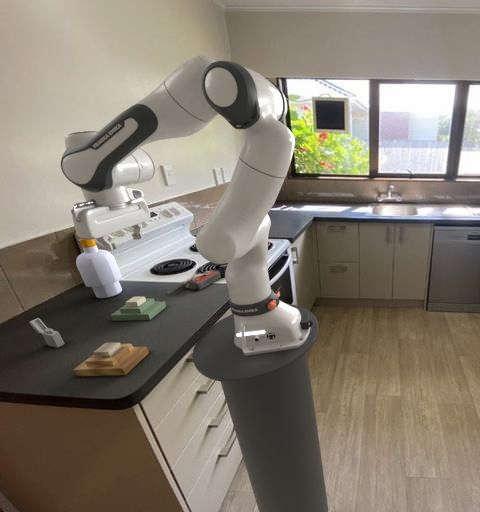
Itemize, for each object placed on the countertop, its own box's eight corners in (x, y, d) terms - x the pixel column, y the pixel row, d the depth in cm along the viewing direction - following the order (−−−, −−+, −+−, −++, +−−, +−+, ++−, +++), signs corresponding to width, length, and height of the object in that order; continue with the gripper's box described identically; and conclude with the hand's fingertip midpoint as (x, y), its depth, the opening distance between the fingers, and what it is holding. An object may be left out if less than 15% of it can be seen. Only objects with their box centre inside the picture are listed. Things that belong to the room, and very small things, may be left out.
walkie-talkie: (208, 274, 125) (164, 297, 108) (205, 265, 124) (161, 286, 106) (224, 276, 123) (182, 300, 105) (222, 267, 121) (179, 289, 104)
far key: (146, 301, 98) (144, 296, 97) (138, 307, 95) (136, 301, 94) (135, 301, 98) (133, 296, 97) (127, 307, 95) (125, 302, 94)
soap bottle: (97, 303, 104) (69, 240, 94) (86, 296, 108) (58, 235, 99) (132, 291, 112) (108, 232, 102) (120, 285, 116) (97, 228, 107)
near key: (122, 348, 76) (119, 342, 75) (110, 358, 73) (107, 351, 72) (108, 348, 76) (105, 342, 75) (96, 358, 73) (93, 352, 72)
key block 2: (148, 353, 80) (144, 341, 78) (125, 375, 72) (120, 362, 71) (104, 354, 79) (99, 342, 78) (76, 376, 72) (70, 363, 70)
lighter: (65, 343, 83) (52, 320, 80) (57, 347, 82) (44, 324, 79) (48, 339, 85) (35, 317, 82) (40, 343, 84) (27, 320, 80)
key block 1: (166, 306, 101) (163, 296, 100) (150, 319, 94) (146, 309, 93) (132, 307, 101) (128, 297, 100) (112, 320, 94) (108, 310, 92)
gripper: (81, 204, 68) (104, 257, 74) (147, 190, 87) (161, 233, 93) (55, 204, 68) (79, 258, 74) (126, 190, 87) (141, 233, 93)
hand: (125, 244), depth 83 cm, fingers open, 8 cm apart
